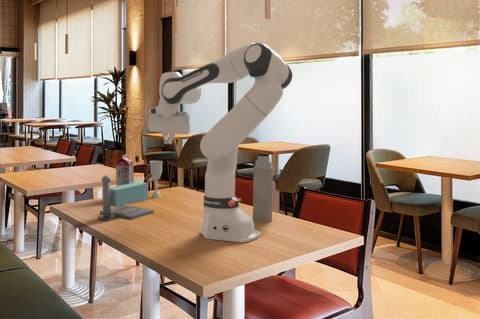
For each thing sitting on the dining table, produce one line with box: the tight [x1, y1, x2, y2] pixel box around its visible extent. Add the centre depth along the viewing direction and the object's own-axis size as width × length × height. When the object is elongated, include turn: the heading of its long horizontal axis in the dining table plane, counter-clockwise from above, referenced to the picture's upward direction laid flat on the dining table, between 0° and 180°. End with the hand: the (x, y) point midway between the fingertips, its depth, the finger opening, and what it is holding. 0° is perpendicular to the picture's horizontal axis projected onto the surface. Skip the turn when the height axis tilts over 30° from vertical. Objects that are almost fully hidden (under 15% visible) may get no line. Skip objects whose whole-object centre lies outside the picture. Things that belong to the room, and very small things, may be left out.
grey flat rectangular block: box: [99, 204, 155, 220], centre depth 207 cm, size 18×14×1 cm
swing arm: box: [101, 175, 149, 217], centre depth 205 cm, size 24×6×17 cm, turn 151°
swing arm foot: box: [97, 214, 117, 222], centre depth 197 cm, size 5×5×1 cm
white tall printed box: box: [115, 153, 135, 187], centre depth 237 cm, size 7×7×22 cm
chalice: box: [149, 160, 164, 199], centre depth 243 cm, size 7×7×18 cm
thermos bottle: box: [252, 152, 274, 223], centre depth 198 cm, size 8×8×28 cm
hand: (168, 143), depth 202 cm, fingers closed
